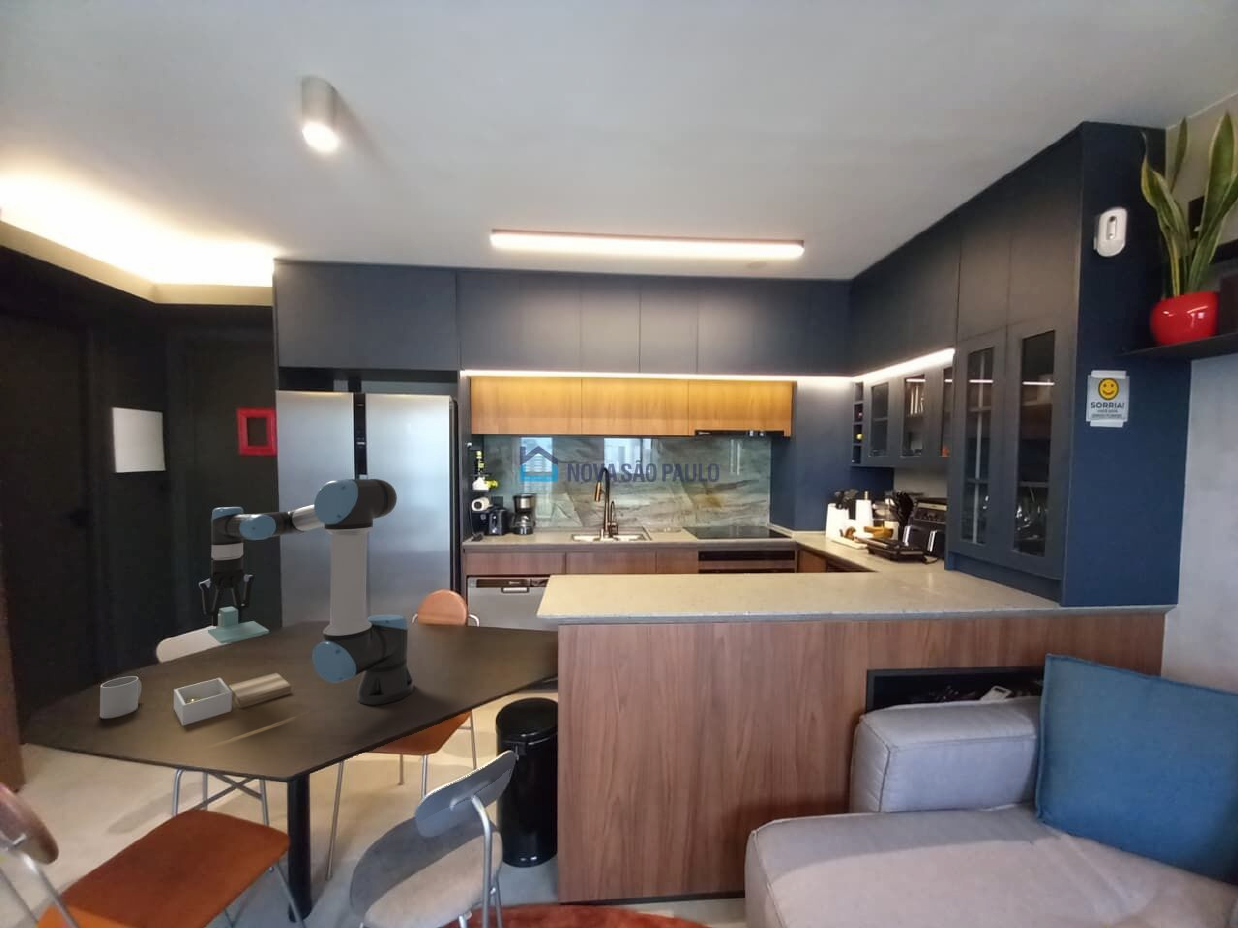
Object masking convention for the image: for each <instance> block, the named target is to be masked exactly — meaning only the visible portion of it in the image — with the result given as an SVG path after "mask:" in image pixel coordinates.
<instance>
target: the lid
mask: <svg viewBox="0 0 1238 928" xmlns="http://www.w3.org/2000/svg"><path fill="white" fill-rule="evenodd" d="M219 614H220V615H221V628H216V627H215V628H212V629H207V634H209V635H210V636H211V637H213V639H215V640H216V641H217V642H218V643H219V644H221V645H222V644H229V643H234V642H238V641H239V642H240V641H242V640H247V639H252V638H256V637H260V636H262V635H263V636H264V635H267V634H270V630H269V629H268V628H266V627H265V626H262V625H261V624H259V623H258V622H256V621H255V620H252V621H246V622H241V623H239V622H238V610H237V609H236V608H235V606H227V607H220V609H219Z"/></svg>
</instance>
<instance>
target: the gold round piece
mask: <svg viewBox="0 0 1238 928" xmlns="http://www.w3.org/2000/svg"><path fill="white" fill-rule="evenodd" d="M198 700H200V697H194V698H191V699H188V700H187V703H190V702H194V701H198Z"/></svg>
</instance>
